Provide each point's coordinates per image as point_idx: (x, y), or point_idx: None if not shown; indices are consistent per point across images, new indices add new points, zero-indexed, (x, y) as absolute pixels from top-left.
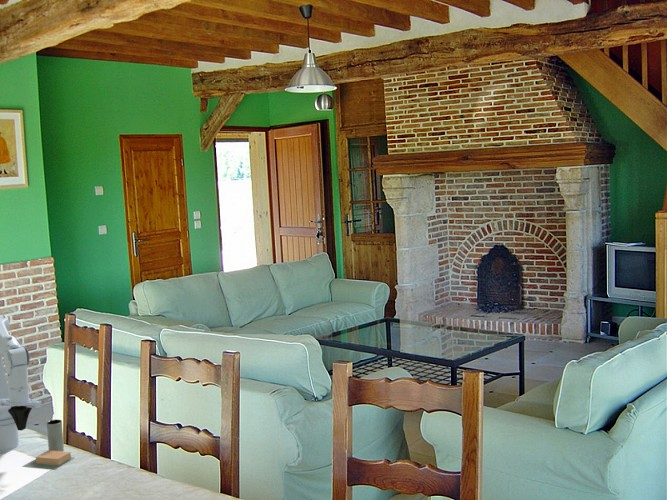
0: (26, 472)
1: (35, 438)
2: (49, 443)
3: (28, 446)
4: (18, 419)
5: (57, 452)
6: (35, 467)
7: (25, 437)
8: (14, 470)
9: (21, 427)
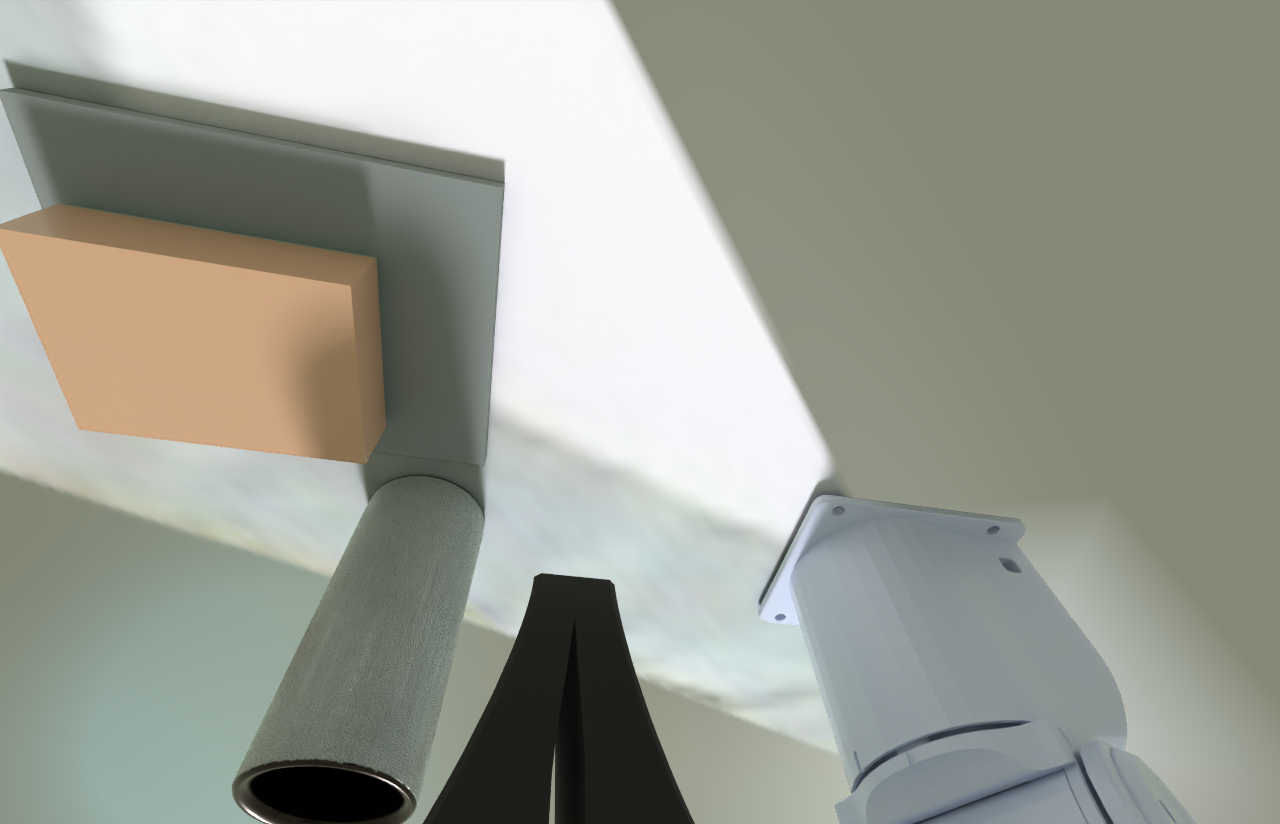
0: (355, 41)
1: (739, 683)
2: (420, 555)
3: (723, 594)
4: (517, 801)
5: (211, 413)
6: (316, 159)
7: (811, 689)
8: (549, 107)
9: (524, 624)
